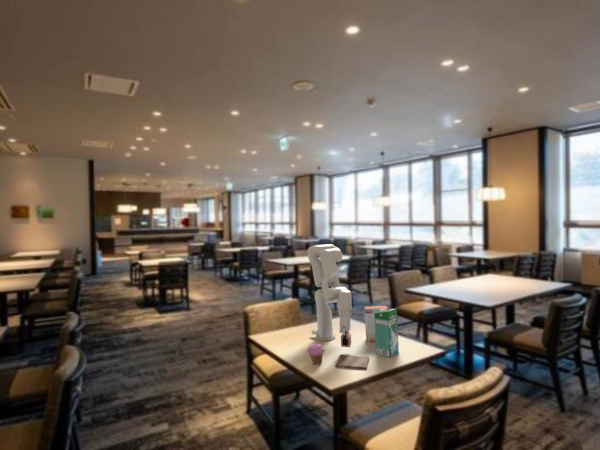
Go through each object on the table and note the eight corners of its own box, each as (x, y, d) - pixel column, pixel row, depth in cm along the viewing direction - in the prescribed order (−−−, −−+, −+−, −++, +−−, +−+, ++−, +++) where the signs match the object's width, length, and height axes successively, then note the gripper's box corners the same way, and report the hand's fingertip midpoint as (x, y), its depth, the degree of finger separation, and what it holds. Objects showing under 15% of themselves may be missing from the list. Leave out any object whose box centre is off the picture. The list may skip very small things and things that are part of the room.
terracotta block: (341, 346, 202) (340, 336, 202) (342, 343, 207) (342, 333, 207) (349, 347, 201) (349, 336, 201) (351, 344, 206) (350, 333, 206)
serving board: (335, 367, 185) (335, 364, 185) (340, 356, 198) (340, 354, 198) (366, 369, 180) (366, 367, 180) (369, 358, 194) (369, 356, 194)
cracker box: (388, 338, 224) (386, 305, 224) (389, 342, 218) (388, 307, 218) (365, 338, 226) (364, 305, 225) (366, 342, 220) (365, 308, 219)
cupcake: (327, 364, 189) (326, 345, 189) (311, 367, 187) (310, 348, 186) (321, 358, 198) (320, 340, 197) (306, 361, 195) (305, 342, 195)
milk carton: (384, 348, 207) (382, 305, 207) (398, 352, 201) (396, 308, 200) (376, 353, 201) (374, 309, 201) (390, 357, 194) (388, 311, 194)
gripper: (341, 307, 212) (342, 337, 213) (335, 316, 196) (336, 348, 197) (353, 308, 210) (354, 338, 211) (349, 316, 194) (350, 349, 195)
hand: (346, 343), depth 204 cm, fingers closed on terracotta block, 5 cm apart
